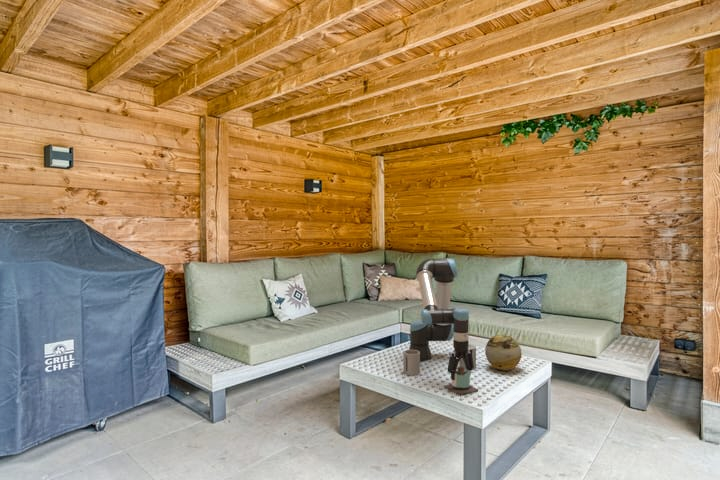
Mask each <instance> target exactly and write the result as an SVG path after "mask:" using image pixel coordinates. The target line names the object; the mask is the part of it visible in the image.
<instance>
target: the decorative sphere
mask: <svg viewBox="0 0 720 480" xmlns="http://www.w3.org/2000/svg"><path fill="white" fill-rule="evenodd" d="M484 353H485V357H486V360H487V361H488V363H489V364H490V365H491V366H492V367H493V368H495V369H496V370H497V369H498V370H501V371H510V370H513V369H514V368H516V367H517V366H518V365H519V363H520V361H521V359H522V355H523V354H522V348H521V346H520V344H519V343H518V341H517V340H516V339H515V338H513V337H512V336H511V335H510V336H509V335H508V334H496V335H494V336H492V337H491V338H489V340H488V341H487V342H486V344H485V349H484Z"/></svg>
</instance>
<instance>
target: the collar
mask: <svg viewBox="0 0 720 480" xmlns="http://www.w3.org/2000/svg"><path fill="white" fill-rule="evenodd" d="M456 374H457V387H459V388H466V387H469V385H470V383H469V372H467V371H465V370H464V375H459V374H458V369H456Z"/></svg>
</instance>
